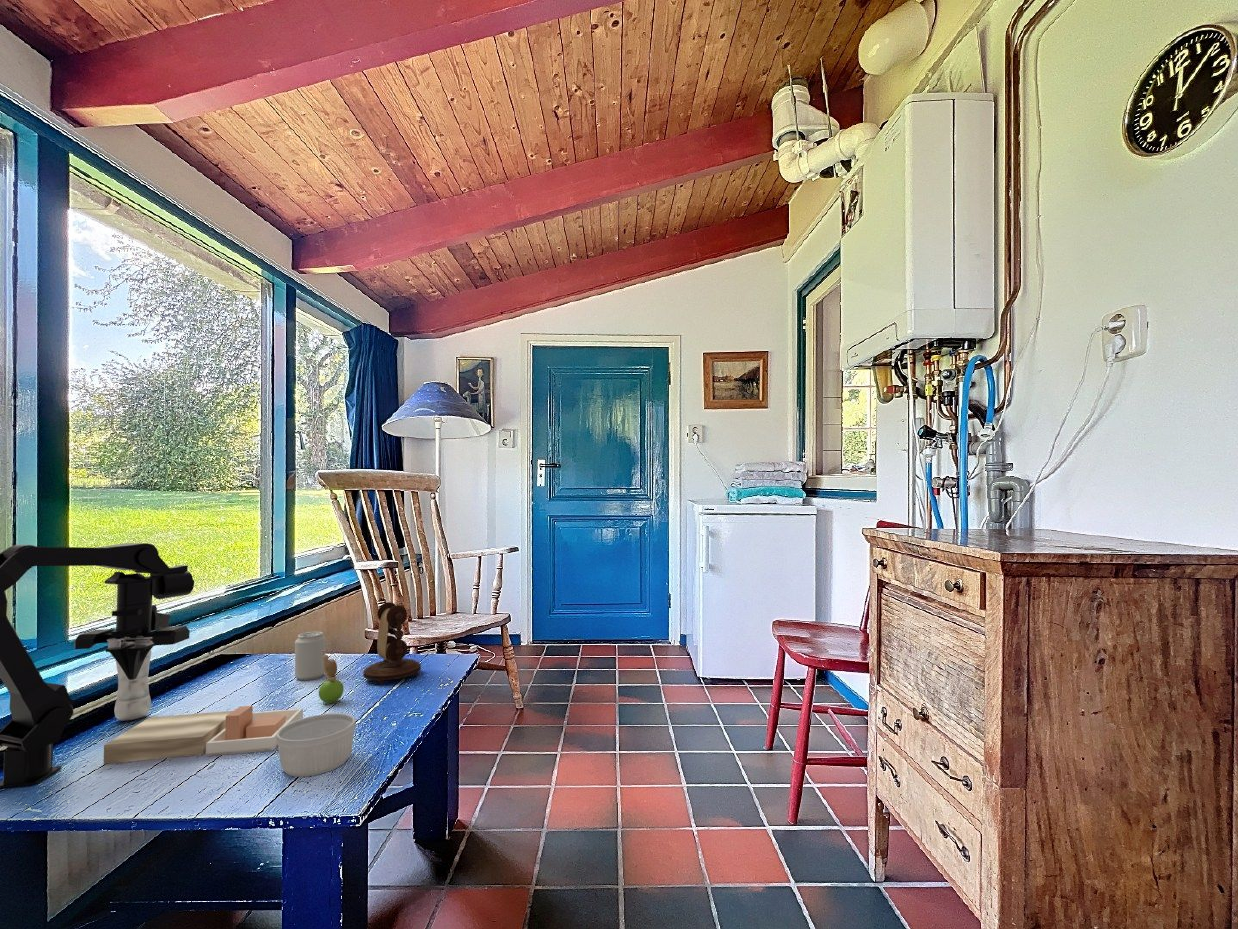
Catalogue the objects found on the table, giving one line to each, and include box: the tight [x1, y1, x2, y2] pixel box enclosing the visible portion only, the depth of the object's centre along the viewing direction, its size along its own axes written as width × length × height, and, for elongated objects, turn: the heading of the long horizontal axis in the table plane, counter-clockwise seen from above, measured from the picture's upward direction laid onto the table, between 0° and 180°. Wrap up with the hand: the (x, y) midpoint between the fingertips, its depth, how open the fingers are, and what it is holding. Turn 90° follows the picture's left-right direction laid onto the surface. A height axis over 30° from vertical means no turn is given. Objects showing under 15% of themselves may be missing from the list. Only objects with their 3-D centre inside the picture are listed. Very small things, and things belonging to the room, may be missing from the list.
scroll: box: [362, 601, 422, 686], centre depth 161 cm, size 15×15×20 cm
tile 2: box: [246, 715, 286, 739], centre depth 122 cm, size 6×6×2 cm
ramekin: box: [276, 712, 357, 778], centre depth 109 cm, size 13×13×7 cm
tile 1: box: [225, 705, 254, 740], centre depth 120 cm, size 6×6×2 cm
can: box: [294, 631, 326, 681], centre depth 163 cm, size 8×8×12 cm
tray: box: [205, 707, 304, 757], centre depth 122 cm, size 16×12×2 cm
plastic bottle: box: [113, 637, 152, 722], centre depth 134 cm, size 6×7×20 cm
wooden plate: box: [103, 710, 234, 765], centre depth 119 cm, size 14×17×4 cm
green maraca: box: [318, 649, 345, 704], centre depth 142 cm, size 5×6×12 cm
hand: (132, 679), depth 121 cm, fingers closed
